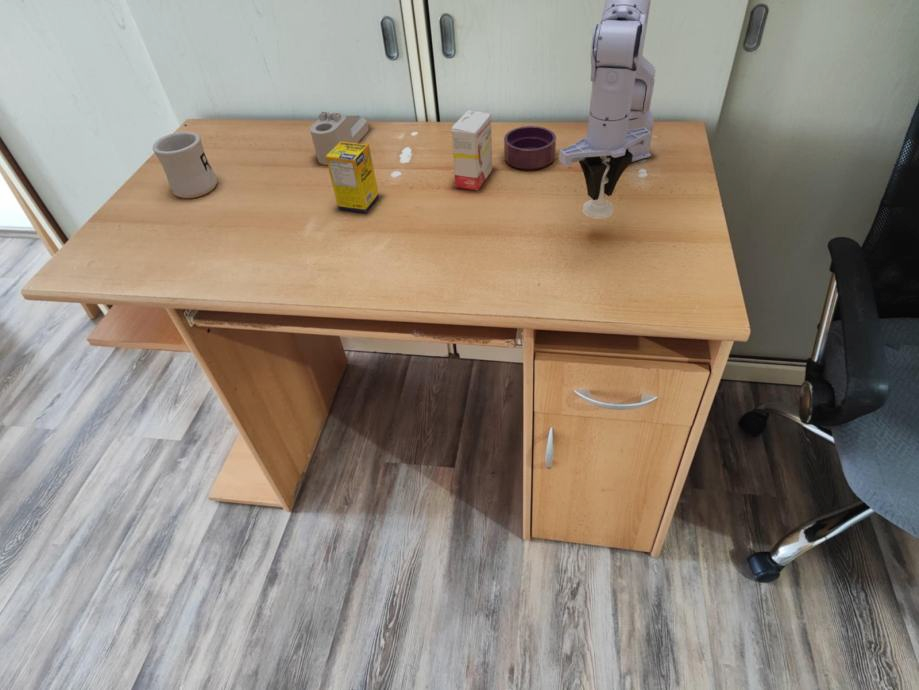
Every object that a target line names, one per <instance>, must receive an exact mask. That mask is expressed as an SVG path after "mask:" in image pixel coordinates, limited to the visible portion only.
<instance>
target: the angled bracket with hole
mask: <svg viewBox="0 0 919 690" xmlns="http://www.w3.org/2000/svg"><path fill="white" fill-rule="evenodd" d="M368 131H370V130H369V124H368V120H367V119H366V118H365V117H361V116H360V114H359V115H357V114H348V115H347V114H345V115H341V112H332V113H330V112H329V111H321V112H320V114H318V119H317V120H316V121H315V122H314V123H313V124H312V125H311V126H310V128H309V132H310V135H311V139H312V143H313V147H314V151H315V155H316V158H317V162H318V163H319V164H321V165H325V166H328V165H327V161H326V155H327V154H328V153H329V152H330V151H331V150H332V149H333V148H334V147H335V146H336V145H337V144H338V143H339V142H341V141H342V142H351V143H360V141H361V139H362V138H363V137H364V136H365V135H366V134H367V133H368Z"/></svg>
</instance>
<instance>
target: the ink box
mask: <svg viewBox="0 0 919 690" xmlns="http://www.w3.org/2000/svg"><path fill="white" fill-rule="evenodd" d="M451 140H452V155H453V172H454V173H453V174H454V186H455V187H454V188H457V189H464V190H471V191H475V192H476V191H477V192H478V191H479V190H480V188H481V187H482V186H483V184H484V182H485V181H486V180H487V178H488V176H489V175H490V174H491V172H492V171H493V149H492V148H493V146H492V145H493V144H492V140H493V139H492V113H491V112H483V111H478V110H472V109H469V110H466V111H465V113H464V114H463V115H462V116H461V117H460V118H459V119H458V120H457V121H456V122H455V123H454V124H453V125H452V126H451Z"/></svg>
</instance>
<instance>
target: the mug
mask: <svg viewBox="0 0 919 690" xmlns="http://www.w3.org/2000/svg"><path fill="white" fill-rule="evenodd" d="M152 151H153V153H154V154H155V156H156V158H157V159H158V161H159V163H160V164H161V167H162V169H163V171H164V174H165V176H166V179H167V181H168V186H169V188H170V190H171V192H172V194H173V195H175V196H176V197H179V198H181V199H194V198H199V197H202V196H205V195H207V194H209V193H210V192H211V191H213V190H214V189H215V188H216V186H217V184H218V177H217V175H216V173H215V171H214V170H213V168H212V166H211V164H210V162H209V160H208V158H207V155H206V153H205V150H204V146H203V143H202V139H201V136H200V135H199V134H198V133H196V132H193V131H177V132H173V133H170V134H166V135H165V136H162V137H160V138H158V139H157V140H156V141H155V142H154V143H153V145H152Z"/></svg>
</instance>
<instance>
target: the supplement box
mask: <svg viewBox="0 0 919 690" xmlns="http://www.w3.org/2000/svg"><path fill="white" fill-rule="evenodd" d="M326 161H327V165H326V166H327V168H328V173H329V176H330V181H331V185H332V189H333V193H334V196H335V201H336V204H337V208H338V210H343V211H349V212H356V213H363V214H367V212H368V211H369V210H370V209H371V207H372V206H373V204H374V203H375V202H376V201H377V200H378V199H379V197H380V195H379V191H378V185H377V179H376V174H375V169H374V168H375V167H374V164H373V158H372V154H371V149H370V144H369V143H360V142H358V143H351V142H342V141H341V142H339V143H338V144H337V145H336V146H335V147H334V148H333V149H332V150H331V151H330V152H329V153H328V154H327V155H326Z"/></svg>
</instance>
